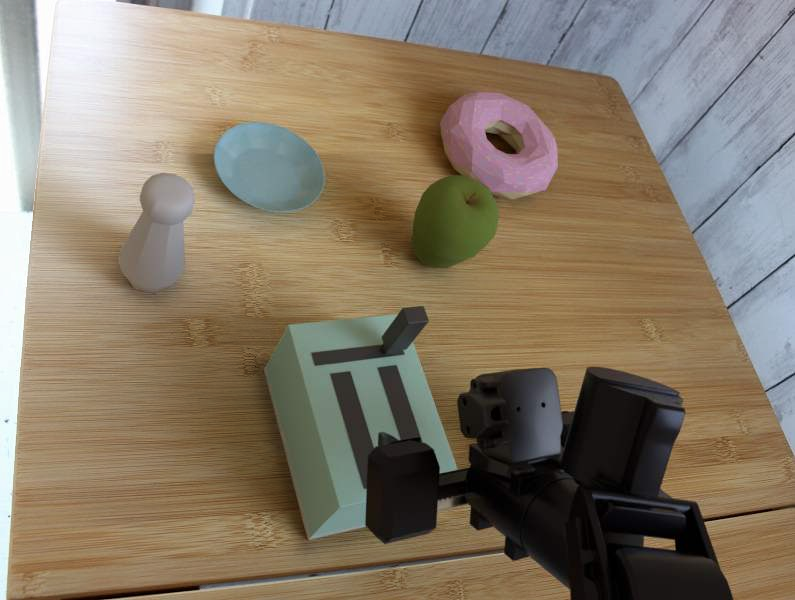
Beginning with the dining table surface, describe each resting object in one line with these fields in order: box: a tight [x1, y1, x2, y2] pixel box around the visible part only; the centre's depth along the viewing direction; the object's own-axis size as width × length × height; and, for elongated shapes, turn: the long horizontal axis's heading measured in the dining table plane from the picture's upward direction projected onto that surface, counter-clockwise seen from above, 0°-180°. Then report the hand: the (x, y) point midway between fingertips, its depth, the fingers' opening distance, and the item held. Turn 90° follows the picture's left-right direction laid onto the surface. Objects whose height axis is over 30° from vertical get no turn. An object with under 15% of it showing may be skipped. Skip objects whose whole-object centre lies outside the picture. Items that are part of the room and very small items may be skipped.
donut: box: [439, 90, 559, 201], centre depth 102 cm, size 16×15×5 cm
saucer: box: [213, 121, 326, 213], centre depth 88 cm, size 12×12×2 cm
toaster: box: [263, 313, 459, 541], centre depth 72 cm, size 16×11×9 cm
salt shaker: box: [117, 172, 196, 295], centre depth 72 cm, size 6×6×13 cm
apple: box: [410, 174, 500, 269], centre depth 87 cm, size 9×8×12 cm
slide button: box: [382, 305, 430, 355], centre depth 70 cm, size 2×2×6 cm
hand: (432, 428), depth 66 cm, fingers open, 9 cm apart
